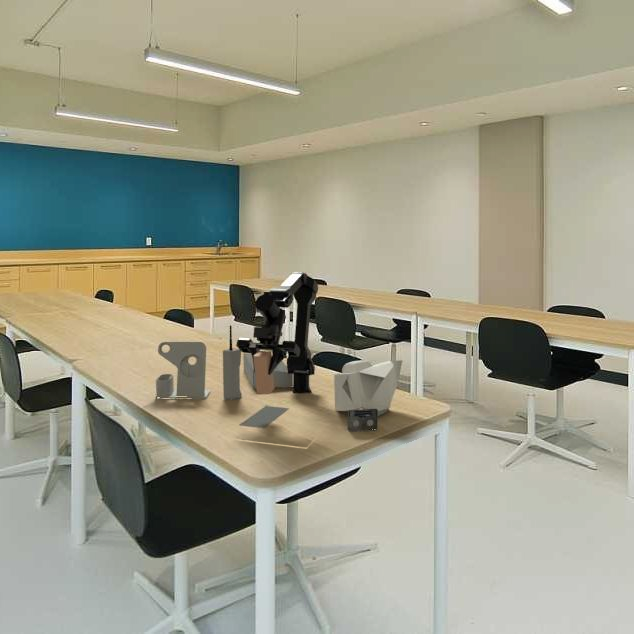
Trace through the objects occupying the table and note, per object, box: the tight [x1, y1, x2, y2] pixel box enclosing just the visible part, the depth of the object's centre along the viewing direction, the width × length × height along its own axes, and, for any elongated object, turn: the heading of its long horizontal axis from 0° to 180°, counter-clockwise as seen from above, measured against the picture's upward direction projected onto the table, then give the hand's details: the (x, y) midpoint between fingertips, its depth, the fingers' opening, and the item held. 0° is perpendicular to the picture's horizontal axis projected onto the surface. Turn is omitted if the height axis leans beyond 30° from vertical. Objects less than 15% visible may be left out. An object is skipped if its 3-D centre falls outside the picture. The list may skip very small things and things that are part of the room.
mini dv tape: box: [347, 408, 379, 432], centre depth 160 cm, size 8×2×6 cm, turn 98°
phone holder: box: [155, 341, 211, 400], centre depth 194 cm, size 17×10×18 cm, turn 92°
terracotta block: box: [254, 350, 275, 395], centre depth 169 cm, size 4×4×12 cm
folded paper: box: [333, 359, 403, 417], centre depth 177 cm, size 17×24×17 cm
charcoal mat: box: [239, 405, 290, 429], centre depth 171 cm, size 20×8×1 cm, turn 162°
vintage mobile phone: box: [222, 325, 243, 401], centre depth 190 cm, size 4×5×25 cm
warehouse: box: [243, 353, 293, 390], centre depth 219 cm, size 30×14×8 cm, turn 14°
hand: (262, 373), depth 167 cm, fingers closed on terracotta block, 4 cm apart
